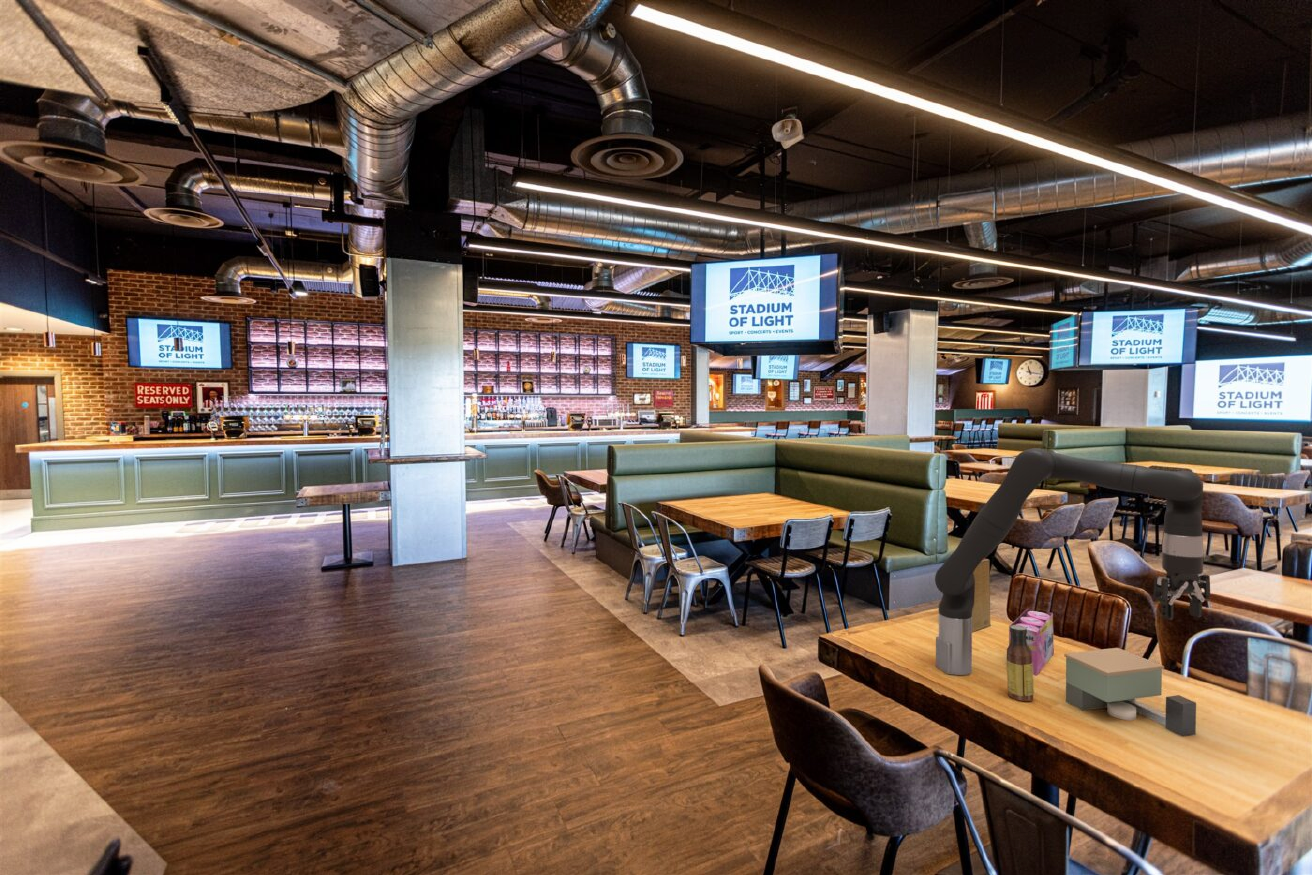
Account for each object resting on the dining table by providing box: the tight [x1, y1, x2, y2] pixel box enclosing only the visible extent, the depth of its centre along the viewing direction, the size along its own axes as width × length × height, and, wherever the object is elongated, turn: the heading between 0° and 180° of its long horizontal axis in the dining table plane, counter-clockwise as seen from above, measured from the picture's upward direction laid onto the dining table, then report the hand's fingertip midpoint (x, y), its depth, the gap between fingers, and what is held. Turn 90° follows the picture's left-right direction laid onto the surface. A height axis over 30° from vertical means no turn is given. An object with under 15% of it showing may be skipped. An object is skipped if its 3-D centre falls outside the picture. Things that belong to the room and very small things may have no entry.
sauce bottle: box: [1006, 625, 1035, 702], centre depth 166 cm, size 7×6×20 cm
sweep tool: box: [1126, 694, 1197, 738], centre depth 152 cm, size 4×15×8 cm, turn 11°
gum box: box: [1008, 608, 1055, 676], centre depth 190 cm, size 24×8×14 cm, turn 135°
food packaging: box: [972, 558, 991, 633], centre depth 222 cm, size 13×9×25 cm
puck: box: [1106, 701, 1137, 721], centre depth 156 cm, size 6×6×2 cm
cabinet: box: [1063, 647, 1165, 711], centre depth 159 cm, size 18×13×13 cm
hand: (1181, 617), depth 146 cm, fingers open, 8 cm apart
